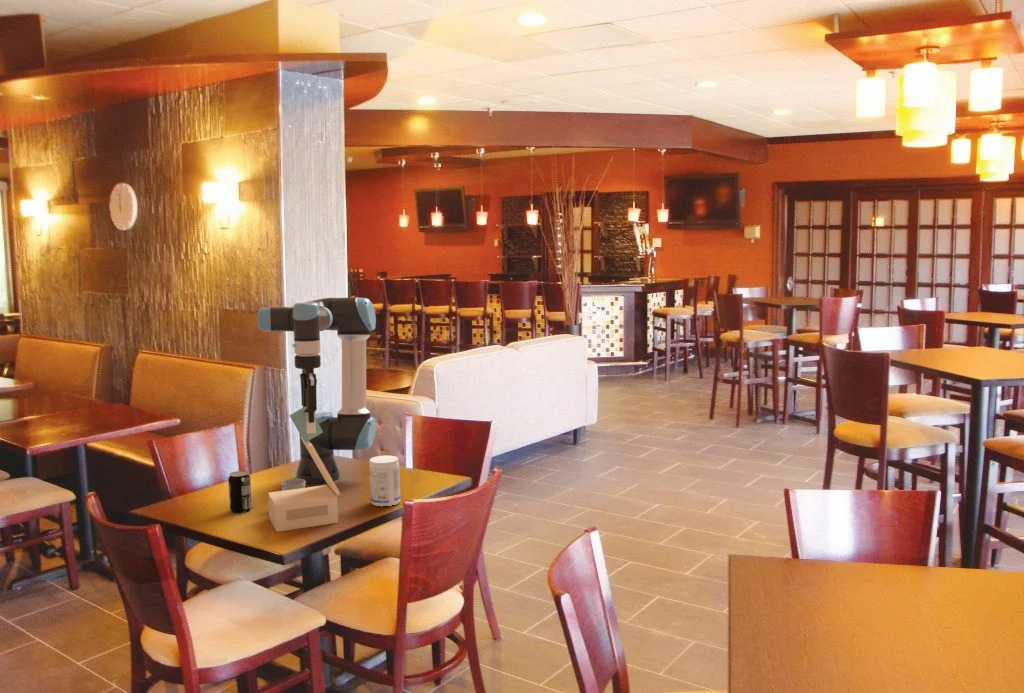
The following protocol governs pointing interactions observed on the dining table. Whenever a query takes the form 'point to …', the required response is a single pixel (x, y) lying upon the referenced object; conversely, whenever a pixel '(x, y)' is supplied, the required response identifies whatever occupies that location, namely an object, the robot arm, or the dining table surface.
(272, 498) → the carton
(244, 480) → the beverage can
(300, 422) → the flap
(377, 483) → the supplement tub
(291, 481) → the cup
